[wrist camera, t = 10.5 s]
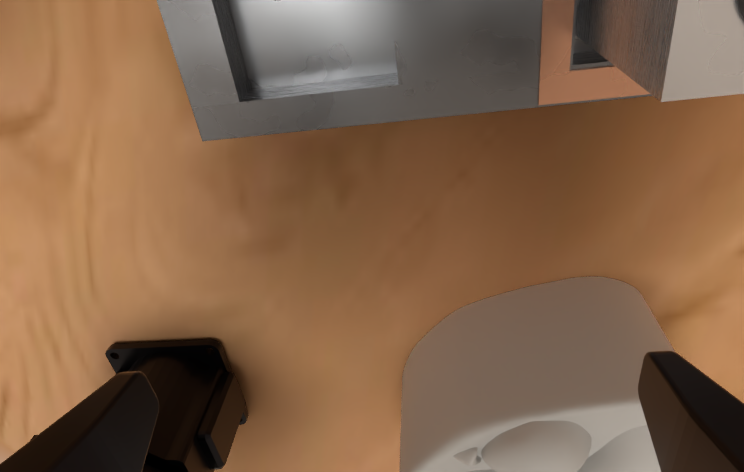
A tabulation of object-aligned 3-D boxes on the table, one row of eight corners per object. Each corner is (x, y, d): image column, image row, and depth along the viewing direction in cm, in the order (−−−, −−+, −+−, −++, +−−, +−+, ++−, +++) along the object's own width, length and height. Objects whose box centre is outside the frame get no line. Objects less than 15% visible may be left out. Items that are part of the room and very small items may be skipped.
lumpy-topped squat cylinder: (664, 404, 28) (753, 581, 20) (436, 447, 31) (442, 612, 24) (636, 256, 23) (740, 420, 15) (369, 327, 26) (351, 488, 19)
